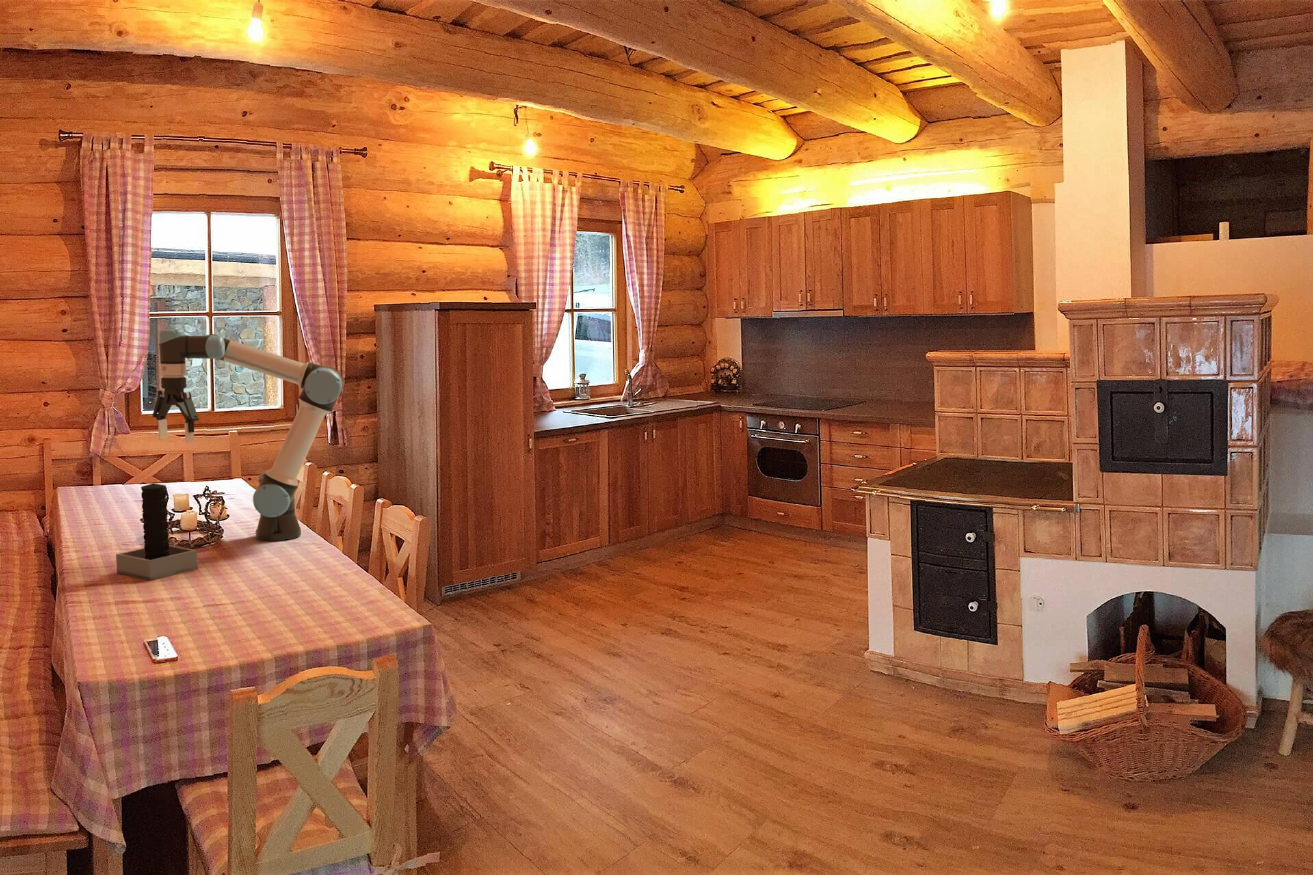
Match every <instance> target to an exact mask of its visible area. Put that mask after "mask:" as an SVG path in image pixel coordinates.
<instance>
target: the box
mask: <svg viewBox="0 0 1313 875" xmlns="http://www.w3.org/2000/svg"><path fill="white" fill-rule="evenodd" d="M144 552H145V549H144V547H143V548H139V549H138V548H137V549H134V550H130V551H126V552H125V551H124V552H119V553H115V559H116V560H115V564H116V574H118V575H124V576H128V577H130V578H131V577H133V578H137V579H141V580H145V581H150V582H151V581H156V580H159V579H164V578H167V577H172V576H175V575H180V574H183V573H187V572H190V571H191V572H192V571H196V570H198V569H199V568H198V565H199V564H198V550H197V549H192V548H187V547H183V546H176V545H171V544H169V552H168V553H169V555H170V556H166V557H161V558H157V559H152V560H148V559H145V555H146V554H145V553H144Z"/></svg>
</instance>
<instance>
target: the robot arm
mask: <svg viewBox="0 0 1313 875" xmlns="http://www.w3.org/2000/svg"><path fill="white" fill-rule="evenodd" d="M158 333H159V338H158V340H159V341H158V342H159V343H158V345H159V346H158V348H159V361H160V362H159V364H160V376H162V377H161V378H160V387H161V389H162V390H161V389H160V390H158V391H157V397H156V402H155V405H154V408H153V411H152V418H155V419H156V420H157V430H158V440H167V439H169V437H168V435H169V434H168V420H167V416H168V413H169V411H170V410H171V408H172V406H175V407H177V408H178V409H179V411H180V413H181V414H182V417H183V418H184V420H185V421H184V438H185V443H186V444H189V443H194V442H195V422H197V421H199V420H200V418H199V415H198V412H197V410H196V407H195V403H194V401H193V398H192V392H191V391H184V390H185V389H186V388H187V378H186V375H187V366H186V359H189V360H190V359H199V360H200V359H205V360H206V359H209V360H210V359H211V360H219V361H223V362H226V363H229V364H233V365H236V366H238V367H242V368H244V369H248V370H251V371H255V372H258V373H261V374H264V375H267V376H271V377H274V378H277V379H280V380H283V381H286V382H289V383H293V384H295V385H297V386H298V388H299V389H301V392H300V394H299V397H298V401H299V404H300V405H299V408H298V410H297V412H296V414H295V417H294V419H293V421H292V423H291V425H290V427H289V430H288V432H287V434H286V436H285V439H284V440H283V443H282V445H281V448H280V450H279V451H278V453H277V455H276V458H275V460H274V463H273V465H272V467H271V468H270V469H267V470H265V471H264V473H260V474H259V476H258V481H257V482H258V487H257V488H256V490H255V491H254V493H253V494H252V503H253V507H254V508H255V510H256V512H258V513H259V515H260V516H259V519H258V522H257V523H258V524H257V527H256V530H255V539H256V540H259V541H267V542H277V541H280V542H281V541H286V540H285V539H289V540H293V539H292V538H294V539H296V538H295V537H297V538H300V537H301V536H302V529H301V526H300V524H299V521H298V518H297V515H296V502H295V501H296V500H295V499H296V498H295V496H296V495H295V493H296V491H297V489H298V486H299V482H298V480H297V479H298V476H299V474H300V471H301V469H302V466H303V465H304V462H305V460H306V457H307V455H308V453H309V452H310V449H311V447H312V445H313V443H314V440H315V438H316V437H317V434H318V431H319V429H320V427H321V425H322V423H323V421H324V419H325V417H326V415H328V414H331V413H332V411H333V410H334V407H335V405H336V403H337V400H338V398H339V397H340V395H341V393H342V391H343V388H344V378H343V376H342V374H341V373H340V372H339V371H338V370H337V369H336V368H334V367H332V366H327V365H321V364H316V363H313V362H310V361H307V362H305V363H304V362H300V361H297V360H294V359H290V358H288V357H284V356H282V355H279V354H275V353H272V352H268V351H266V350H263V349H259V348H256V347H253V346H249V345H247V344H244V343H241V342H238V341H234V340H231V339H227V338H225V337H223V336H221V335H218V334H214V333H209V334H206V335H186V334H185V331H184V330H183V329H174V328H173V329H162V330H161V329H160V331H159V332H158ZM300 535H301V536H300Z"/></svg>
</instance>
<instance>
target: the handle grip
mask: <svg viewBox="0 0 1313 875" xmlns="http://www.w3.org/2000/svg"><path fill="white" fill-rule="evenodd" d="M140 488H141V493H140V494H141V499H142V500H141V503H142V504H141V509H142V510H141V511H142V520H143V521H142V523H143V525H142V529H143V540H144V541H143V543H144V546H143V548H144V549H145V552H144V553H145V554H146V555H145V559H148V560H152V559H157V558H161V557H166V556H170V555H169V553H168V552H169V545H170V542H169V541H170V540H169V536H170V535H169V529H168V528H169V523H168V520H169V519H168V509H167V507H168V503H167V494H168V493H167V490H166V488H167V485H166V484H159V483H154V482H152V483H150V484H146V485H143V486H140Z"/></svg>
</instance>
